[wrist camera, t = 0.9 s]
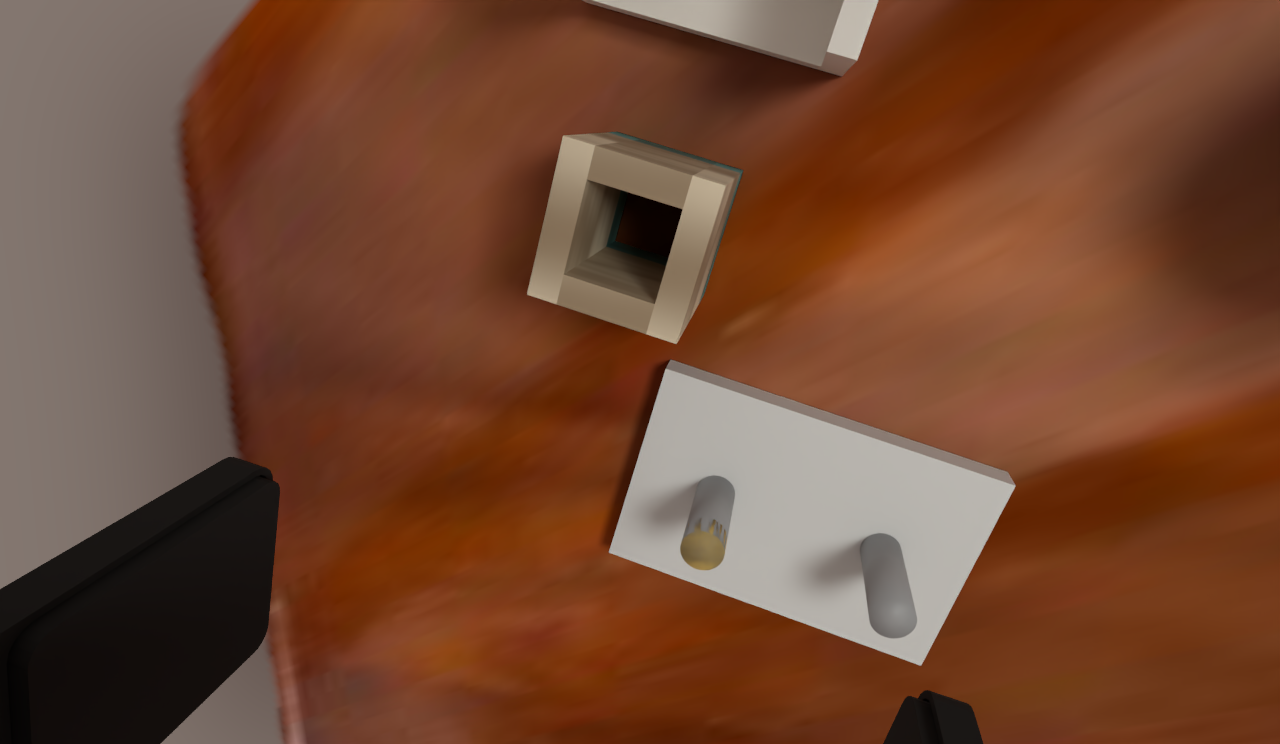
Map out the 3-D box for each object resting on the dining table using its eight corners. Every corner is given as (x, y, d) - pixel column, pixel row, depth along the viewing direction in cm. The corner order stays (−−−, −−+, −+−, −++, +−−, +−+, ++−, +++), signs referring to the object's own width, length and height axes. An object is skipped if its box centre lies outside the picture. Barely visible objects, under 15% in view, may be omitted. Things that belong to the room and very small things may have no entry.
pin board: (670, 359, 31) (643, 408, 26) (1007, 471, 30) (1052, 548, 24) (615, 538, 34) (581, 614, 29) (916, 647, 33) (939, 748, 28)
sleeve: (617, 131, 29) (563, 135, 22) (743, 170, 28) (726, 185, 22) (585, 257, 30) (526, 294, 24) (703, 295, 30) (676, 343, 24)
